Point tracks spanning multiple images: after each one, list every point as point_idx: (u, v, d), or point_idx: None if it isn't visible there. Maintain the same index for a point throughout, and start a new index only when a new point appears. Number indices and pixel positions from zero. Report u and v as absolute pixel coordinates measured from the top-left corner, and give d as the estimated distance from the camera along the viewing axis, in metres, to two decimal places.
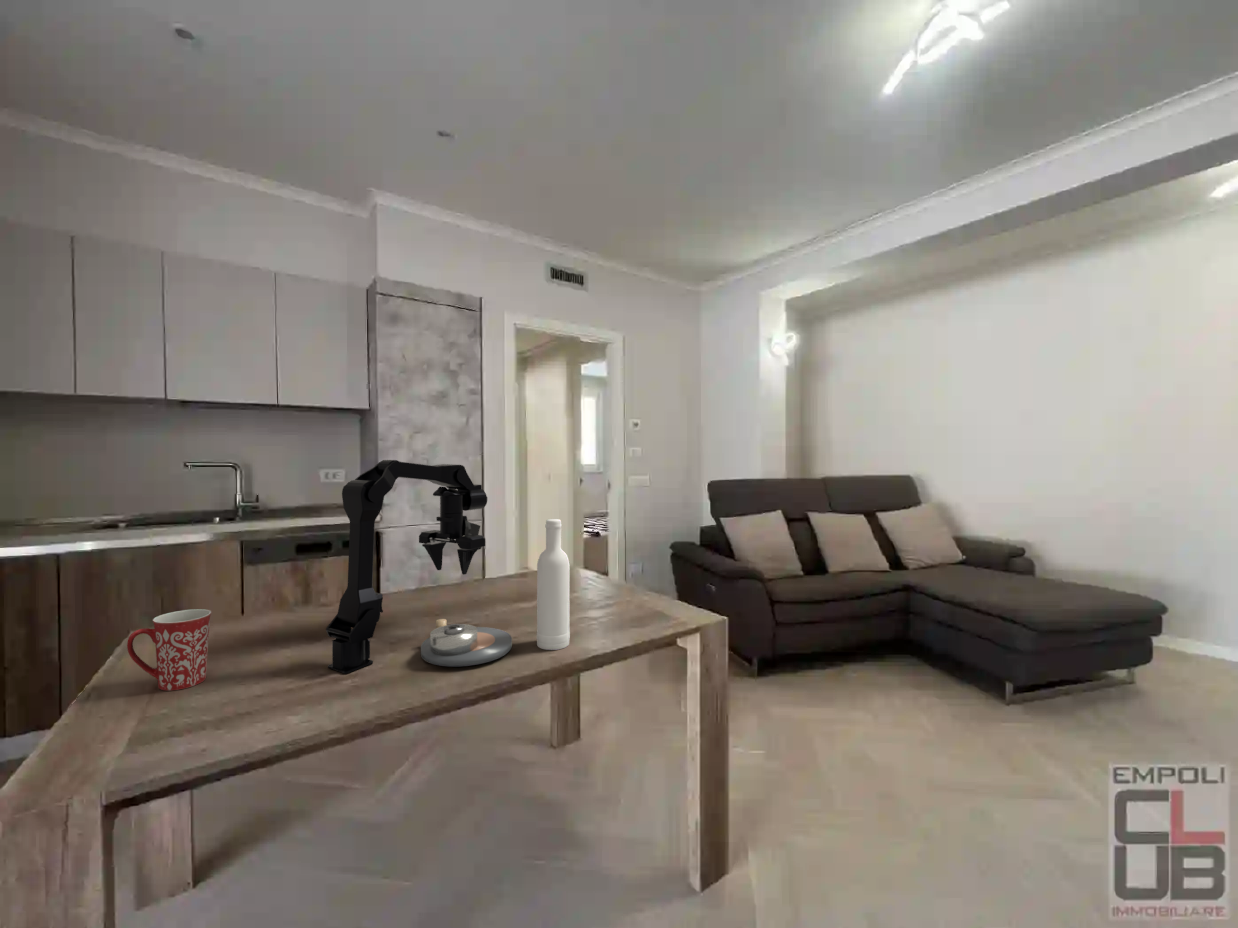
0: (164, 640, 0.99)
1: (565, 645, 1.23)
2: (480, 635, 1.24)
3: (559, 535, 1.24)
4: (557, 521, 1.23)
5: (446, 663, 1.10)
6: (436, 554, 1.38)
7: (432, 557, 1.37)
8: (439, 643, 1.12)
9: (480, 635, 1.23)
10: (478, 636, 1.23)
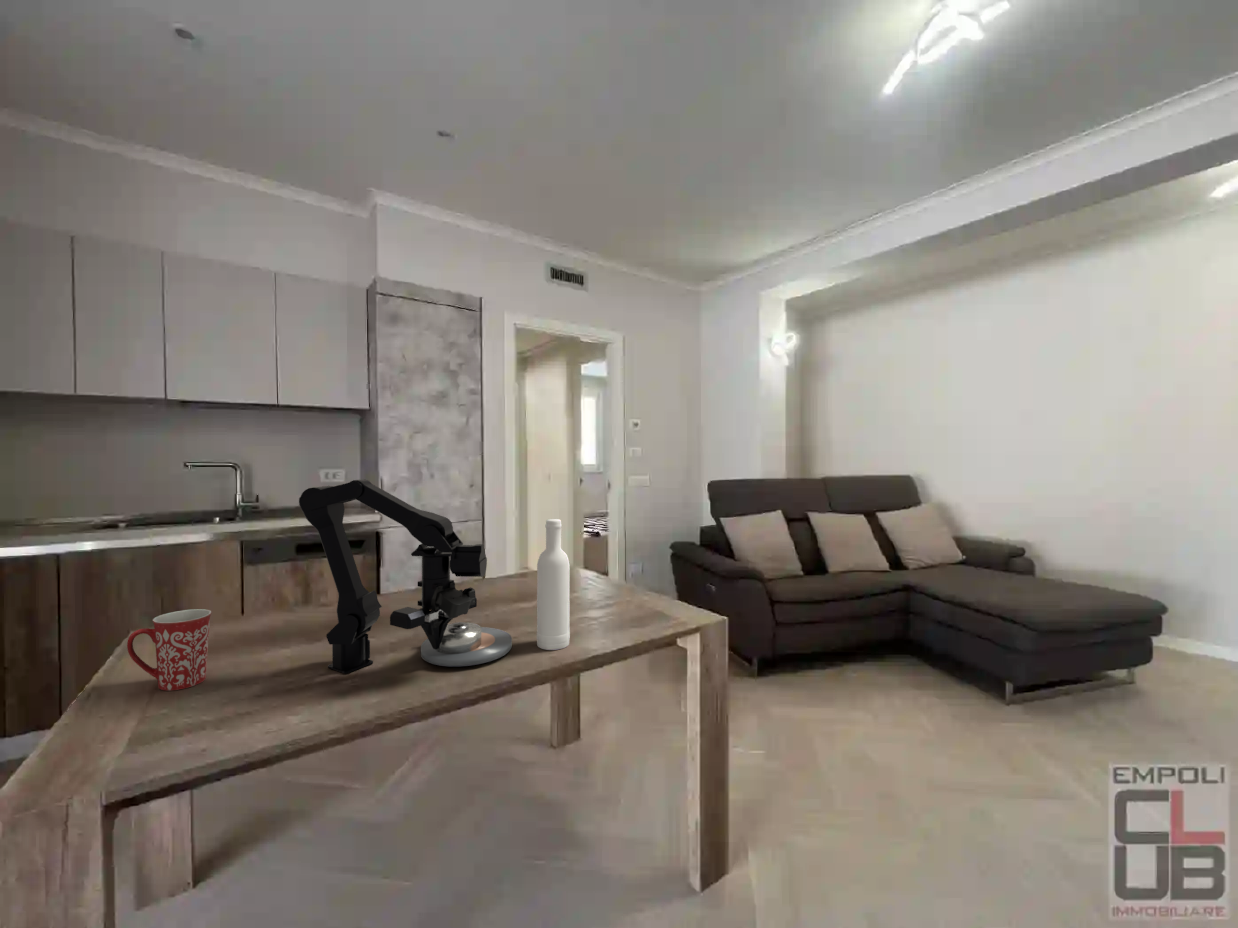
0: (164, 640, 0.99)
1: (565, 645, 1.23)
2: None
3: (559, 535, 1.24)
4: (557, 521, 1.23)
5: (446, 663, 1.10)
6: None
7: None
8: (443, 641, 1.13)
9: None
10: None
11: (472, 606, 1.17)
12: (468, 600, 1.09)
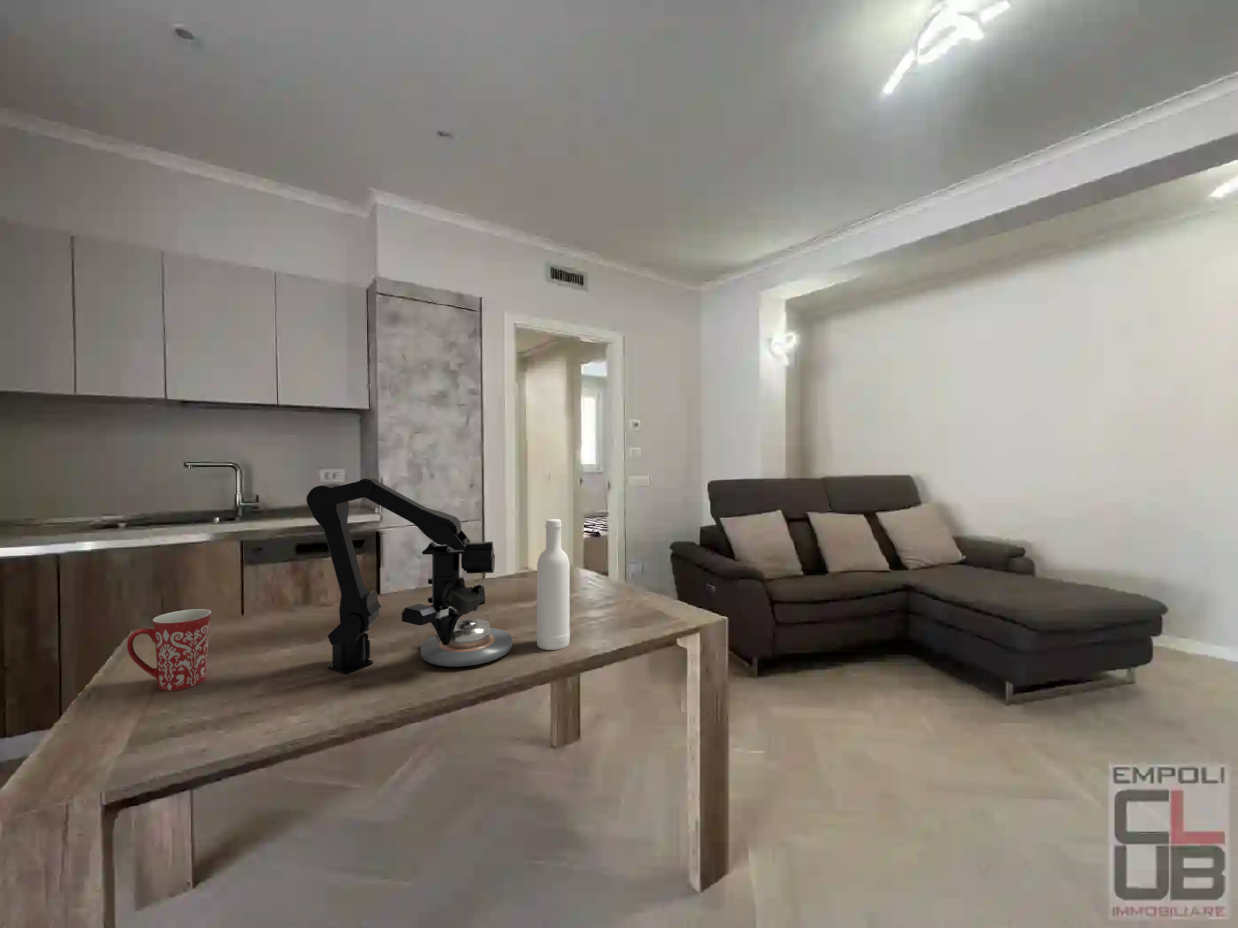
0: (164, 640, 0.99)
1: (565, 645, 1.23)
2: None
3: (559, 535, 1.24)
4: (557, 521, 1.23)
5: (446, 663, 1.10)
6: None
7: None
8: (453, 637, 1.15)
9: None
10: None
11: (481, 603, 1.19)
12: (478, 597, 1.11)
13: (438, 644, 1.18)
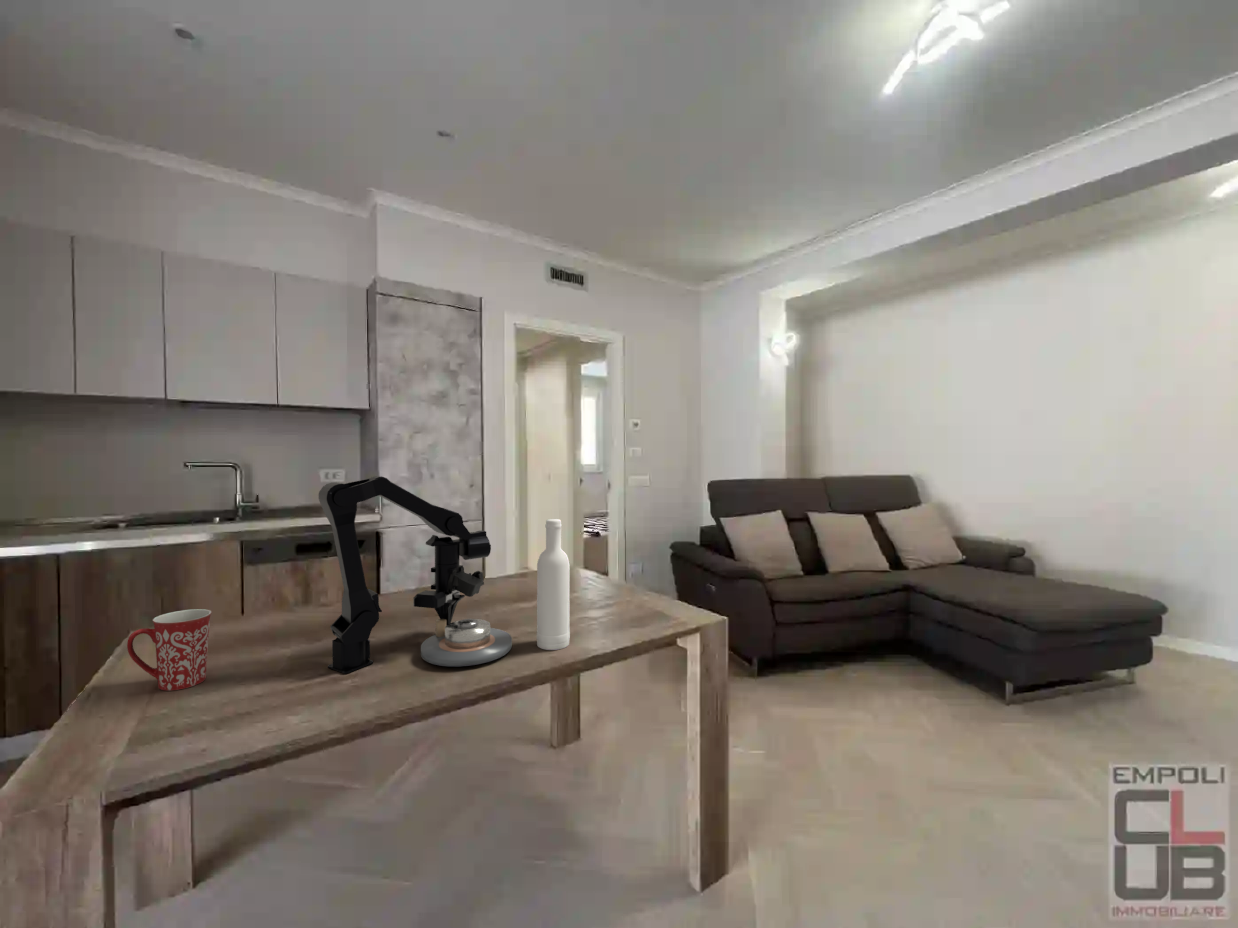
0: (164, 640, 0.99)
1: (565, 645, 1.23)
2: None
3: (559, 535, 1.24)
4: (557, 521, 1.23)
5: (446, 663, 1.10)
6: None
7: None
8: (454, 637, 1.15)
9: None
10: None
11: None
12: (480, 581, 1.26)
13: (438, 644, 1.18)
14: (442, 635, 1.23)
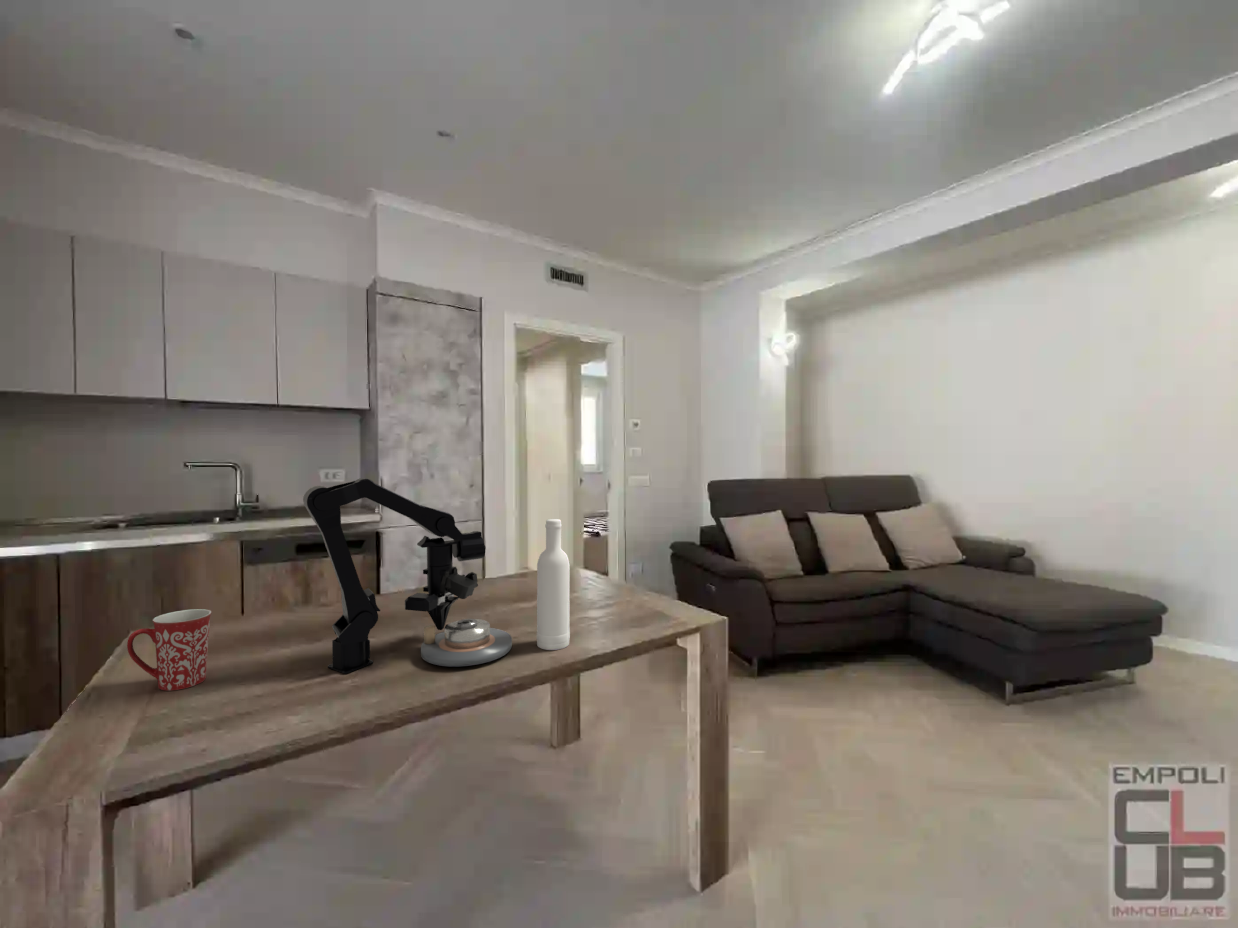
0: (164, 640, 0.99)
1: (565, 645, 1.23)
2: None
3: (559, 535, 1.24)
4: (557, 521, 1.23)
5: (473, 662, 1.11)
6: None
7: None
8: (465, 637, 1.15)
9: None
10: None
11: None
12: (474, 583, 1.22)
13: (442, 649, 1.15)
14: (433, 641, 1.19)
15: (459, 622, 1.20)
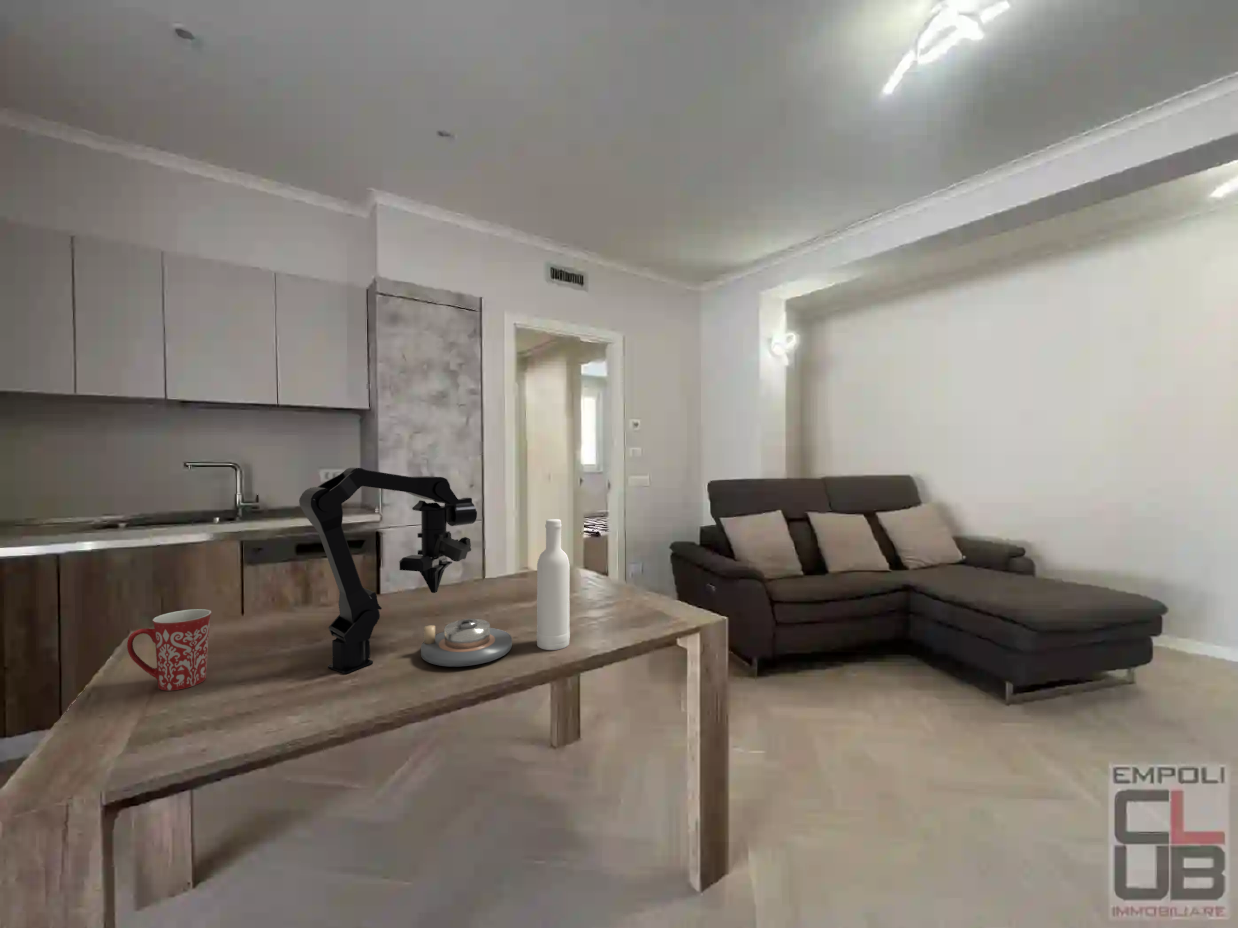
0: (164, 640, 0.99)
1: (565, 645, 1.23)
2: None
3: (559, 535, 1.24)
4: (557, 521, 1.23)
5: (473, 662, 1.11)
6: None
7: None
8: (465, 637, 1.15)
9: None
10: None
11: None
12: (467, 546, 1.25)
13: (442, 649, 1.15)
14: (433, 641, 1.19)
15: (459, 622, 1.20)
